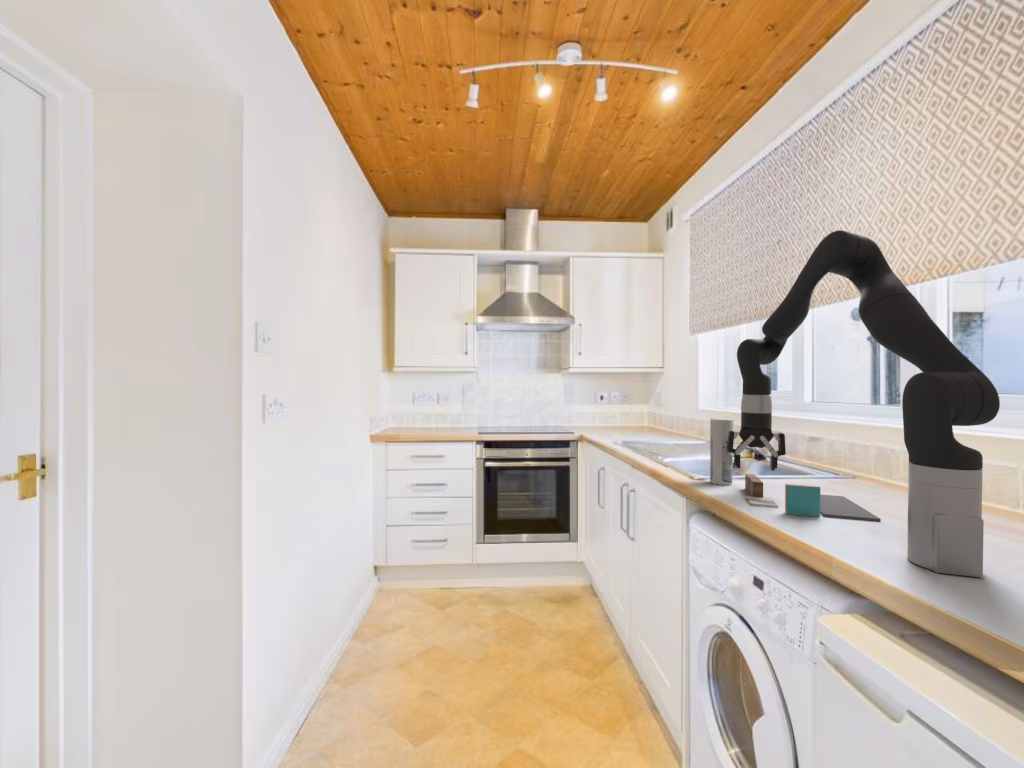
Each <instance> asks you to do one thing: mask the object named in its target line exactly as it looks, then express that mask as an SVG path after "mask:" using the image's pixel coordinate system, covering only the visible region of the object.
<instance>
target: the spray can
mask: <svg viewBox="0 0 1024 768" xmlns="http://www.w3.org/2000/svg"><path fill="white" fill-rule="evenodd" d="M709 428H710V433H709V435H710V442H709V443H710V445H709V447H710V450H709V451H710V454H709V458H710V460H709V461H710V463H709V464H710V465H709V468H710V469H709V470H710V471H709V479H710V480H709V481H710V483H711V482H712V483H714V484H713V485H716V484H719V485H718V486H731V484H733V464H734V453H731V452H729V451H728V450H727V443H728V432H729V431H730V430H732V431H734V418H722V417H721V418H720V417H719V418H717V417H716V418H715V417H712V418H710V427H709ZM712 483H711V484H712Z"/></svg>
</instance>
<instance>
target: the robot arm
mask: <svg viewBox="0 0 1024 768" xmlns="http://www.w3.org/2000/svg"><path fill="white" fill-rule="evenodd" d="M828 273H830V274H833V275H838V276H840V277H844V278H846V279H848V280H849V281H850V282H851V283H852V284H853V285H854V287H855V288H856V289H857V290H858V292H859V294H860V299H859V304H858V315H859V317H860V320H861V321H862V323H863V325H864V326H865V328H866V329H867V331H868V332H869V334H870V335H871V337H872V338H873V339H874V340H875V341H876V342H877V343H878V344H880V346H882V347H883V348H885V349H887V350H888V351H890V352H891V353H893V354H895V355H897V356H898V357H900V358H902V360H903V359H904V360H905V361H907V362H909V363H910V364H912V365H914V366H915V367H916V368H918V369H919V370H920V371H921V372H919V373H916V374H913V376H911V377H910V378H909V379H908V380H907V382H906V383H905V386H904V388H903V392H902V400H901V401H902V403H901V404H902V409H901V410H902V421H903V422H902V423H903V424H902V425H903V440H904V444H905V447H906V451H907V453H908V475H907V476H908V480H907V481H908V482H907V534H906V535H907V555H906V556H907V560H908V561H910V562H912V563H913V564H915V565H918V566H919V567H922V568H925V569H929V570H931V571H933V572H934V573H937V574H946V575H947V574H948V575H954V576H957V575H958V576H964V577H971V578H972V577H974V578H981V579H982V578H984V577H983V576H984V522H985V521H984V519H982V518H983V516H982V515H983V514H982V513H983V509H982V508H983V468H984V467H983V463H984V462H983V460H984V459H983V454H982V453H981V452H980V451H979V450H977V449H975V448H972V447H969V446H967V445H964V444H962V443H960V442H959V441H958V440H957V439H956V438H955V435H954V430H953V427H954V426H956V427H972V426H981V425H985V424H987V423H990V422H991V421H993V420H994V419H995V418H996V417H997V415H998V414H999V412H1000V411H999V410H1000V406H1001V404H1000V396H999V393H998V390H997V389H996V387H995V385H994V383H993V382H992V380H990V379H989V377H988V376H987V375H986V374H985V373H984V372H983V371H982V370H981V369H980V368H978V366H977V365H975V363H973V362H972V361H971V360H970V359H969V358H968V357H967V356H966V355H964V354H963V352H961V351H960V350H959V348H957V347H956V345H955V344H954V343H952V341H951V340H950V338H948V337H947V335H946V334H945V333H944V332H943V331H942V329H941V328H940V327H939V326H938V325H937V324H936V323H935V322H934V320H933V319H932V318H931V316H930V315H929V313H928V312H927V310H926V309H925V307H924V306H922V305H921V303H920V302H919V300H918V298H916V297H915V296H914V294H913V293H912V292H911V291H910V290H909V289H908V287H906V285H905V284H904V283H903V282H902V281H901V279H900V278H899V277H898V276H897V275H896V273H894V270H892V268H891V267H890V265H889V263H888V261H887V259H886V258H885V256H884V254H883V252H882V250H881V249H880V247H879V245H878V244H877V243H876V242H875V240H873V239H871V238H869V237H867V236H863V235H861V234H857V233H854V232H850V231H847V230H843V229H842V230H841V229H840V230H835V231H834V230H833V231H831V232H830V233H828V234H827V235H826V236H825V237H824V238H823V239H821V241H820V242H819V244H818V245H817V246H816V247H815V249H814V250H813V252H812V254H811V255H810V257H809V258H808V259H807V261H806V264H805V265H804V266H803V268H802V269H801V271H800V273H799V275H798V276H797V278H796V279H795V281H794V283H793V285H792V286H791V288H790V290H789V291H788V292H787V295H786V296H785V297H784V299H783V300H782V301H781V302H780V304H779V305H778V306H777V307H776V308H775V310H774V311H773V312H772V313H771V314H770V316H769V317H768V318H767V319H766V321H765V322H764V323H763V325H762V328H761V331H762V333H763V335H764V338H761V339H759V338H748V339H744V340H742V341H741V342H740V344H739V345H738V347H737V352H736V359H737V363H738V368H739V371H740V375H741V378H742V398H741V406H740V411H741V413H740V430H739V431H735V430H733V431H732V430H730V431H729V432H728V443H727V450H728V451H729V452H731V453H733V464H734V466H735V467H736V469H741V453H742V452H743V451H744V450H745V449H746V448H747V447H749V448H760V449H763V448H766V450H767V451H768V452H769V453H770V456H769V457H770V458H769V460H770V461H769V464H770V465H769V469H770V471H775V470H776V469H778V459H779V457H780V456H785V455H786V454H787V452H786V434H785V433H783V432H778V433H777V432H773V430H772V427H773V426H772V421H773V420H772V417H773V416H772V415H773V402H772V401H773V400H772V379H771V378H772V377H771V376H770V375H769V374H767V373H764V372H763V370H762V368H761V365H762V366H764V365H769V364H772V363H773V362H775V361H776V360H777V359H778V358H779V356H780V355H781V353H782V352H783V350H784V348H785V346H786V344H787V342H788V340H789V338H790V337H791V336H792V335H793V334H794V332H796V330H797V329H799V328H800V326H802V324H803V323H804V322H805V320H806V318H807V317H808V314H809V311H810V307H811V302H812V297H813V295H814V294H813V293H814V290H815V289H816V287H817V286H818V284H819V282H820V281H821V280H822V279H823V278H824V277H825V276H826V275H828ZM738 436H739V438H741V440H742V441H741V442H740V443H739V444H738V445H737V447H736V448H735V447H734V443H735V442H734V441H735V440H736V439H737V437H738ZM773 438H774V439H775V440H776V441H777V447H778V450H776V449H774V447H773V446H772V444H771V443H770V442H771V440H772V439H773Z"/></svg>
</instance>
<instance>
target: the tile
mask: <svg viewBox="0 0 1024 768" xmlns="http://www.w3.org/2000/svg"><path fill="white" fill-rule="evenodd" d="M784 485H785V487H784V488H785V489H784V492H785V493H784V495H785V496H784V513H785V514H786V515H795V516H805V517H819V518H820V517H821V514H820V495H821V486H819V485H806V484H804V485H803V484H792V483H785V484H784Z"/></svg>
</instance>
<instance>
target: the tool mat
mask: <svg viewBox="0 0 1024 768" xmlns="http://www.w3.org/2000/svg"><path fill="white" fill-rule="evenodd" d="M820 515H822V517H825V518H835V519H836V518H837V519H847V520H856V521H857V520H858V521H859V520H860V521H871V522H881V520H882V519H881V518H880V517H879V516H877V515H875V514H873V513H872V512H870V511H869V510H867V509H865V508H864V507H862V506H861V505H858V504H857V503H855V502H854V501H852V500H850V499H849V498H847V497H845V496H843V495H832V494H820Z"/></svg>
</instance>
